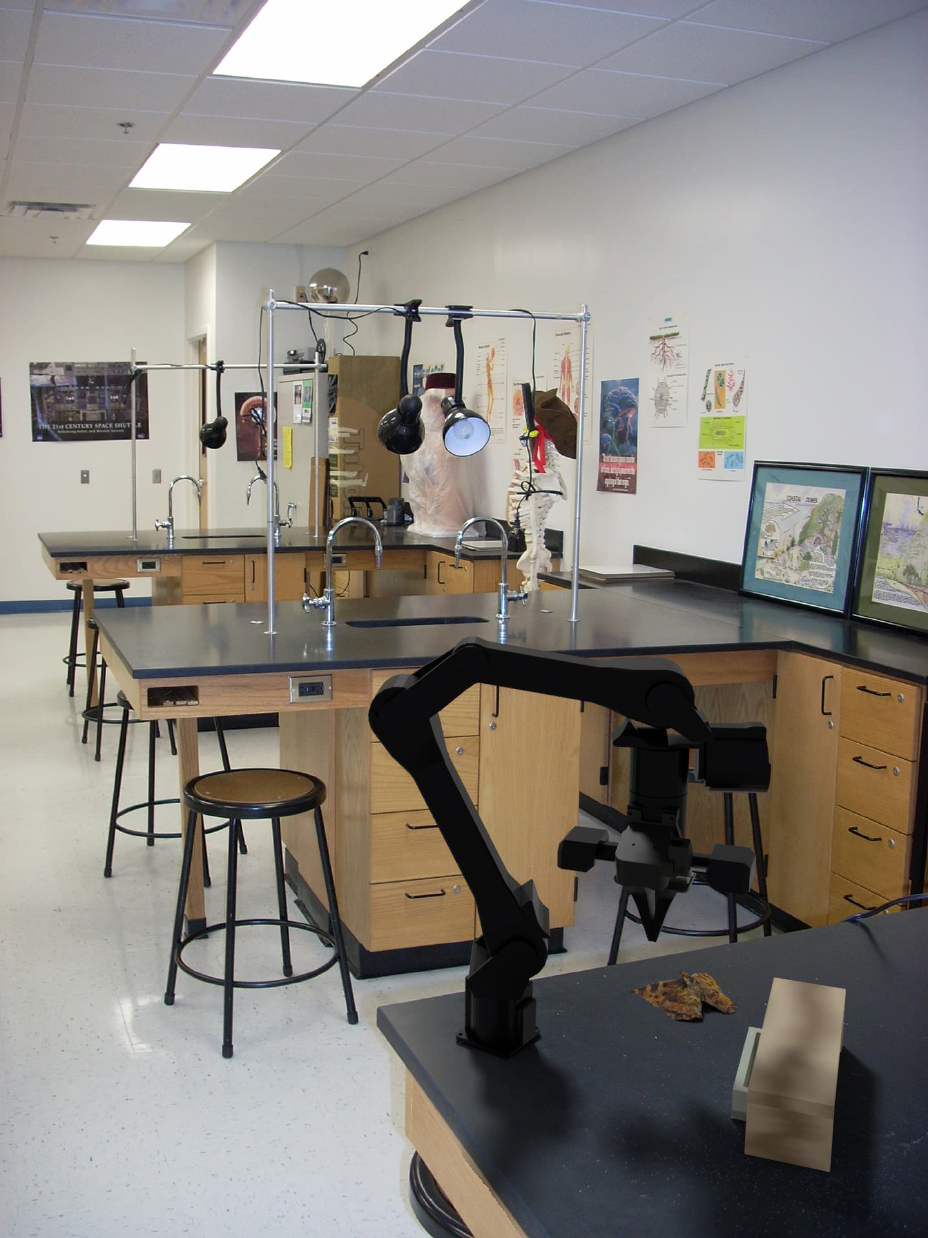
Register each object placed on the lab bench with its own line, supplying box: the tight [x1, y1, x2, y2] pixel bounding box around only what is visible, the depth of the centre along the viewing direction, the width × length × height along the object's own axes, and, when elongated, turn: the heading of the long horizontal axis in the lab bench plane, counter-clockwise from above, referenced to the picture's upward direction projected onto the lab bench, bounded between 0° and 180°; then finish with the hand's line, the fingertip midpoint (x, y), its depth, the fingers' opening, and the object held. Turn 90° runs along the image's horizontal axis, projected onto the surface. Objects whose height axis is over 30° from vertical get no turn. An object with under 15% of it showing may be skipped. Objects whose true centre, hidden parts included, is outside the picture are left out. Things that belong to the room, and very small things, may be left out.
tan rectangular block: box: [744, 977, 847, 1173], centre depth 110 cm, size 7×22×6 cm, turn 160°
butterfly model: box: [630, 971, 738, 1022], centre depth 128 cm, size 9×12×3 cm
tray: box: [730, 1026, 762, 1122], centre depth 111 cm, size 6×12×3 cm, turn 160°
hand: (653, 940), depth 118 cm, fingers closed
